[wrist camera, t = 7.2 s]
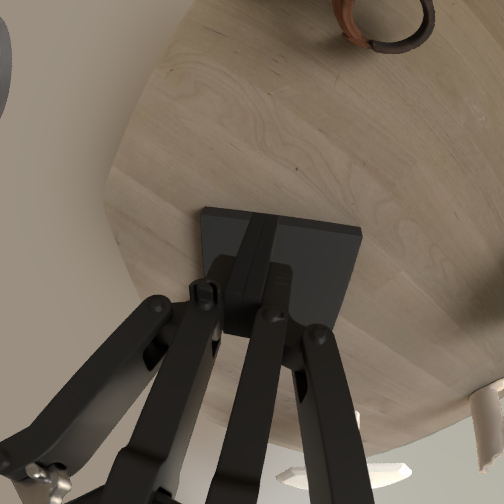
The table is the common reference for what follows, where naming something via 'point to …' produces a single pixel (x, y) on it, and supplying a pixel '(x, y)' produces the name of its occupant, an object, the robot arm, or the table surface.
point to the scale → (294, 258)
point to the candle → (488, 424)
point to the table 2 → (377, 472)
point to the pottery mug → (343, 13)
